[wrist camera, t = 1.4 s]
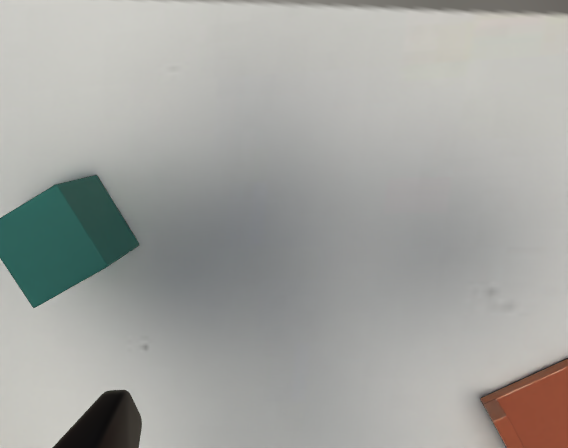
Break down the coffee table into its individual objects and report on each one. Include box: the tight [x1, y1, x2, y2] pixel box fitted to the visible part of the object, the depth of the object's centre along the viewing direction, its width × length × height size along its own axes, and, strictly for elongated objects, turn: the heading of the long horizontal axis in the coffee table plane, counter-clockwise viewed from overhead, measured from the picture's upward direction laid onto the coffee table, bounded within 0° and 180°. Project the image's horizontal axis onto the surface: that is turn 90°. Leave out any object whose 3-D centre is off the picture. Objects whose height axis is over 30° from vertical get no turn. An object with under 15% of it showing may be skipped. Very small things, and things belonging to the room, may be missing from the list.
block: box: [0, 175, 139, 308], centre depth 24 cm, size 4×4×4 cm
